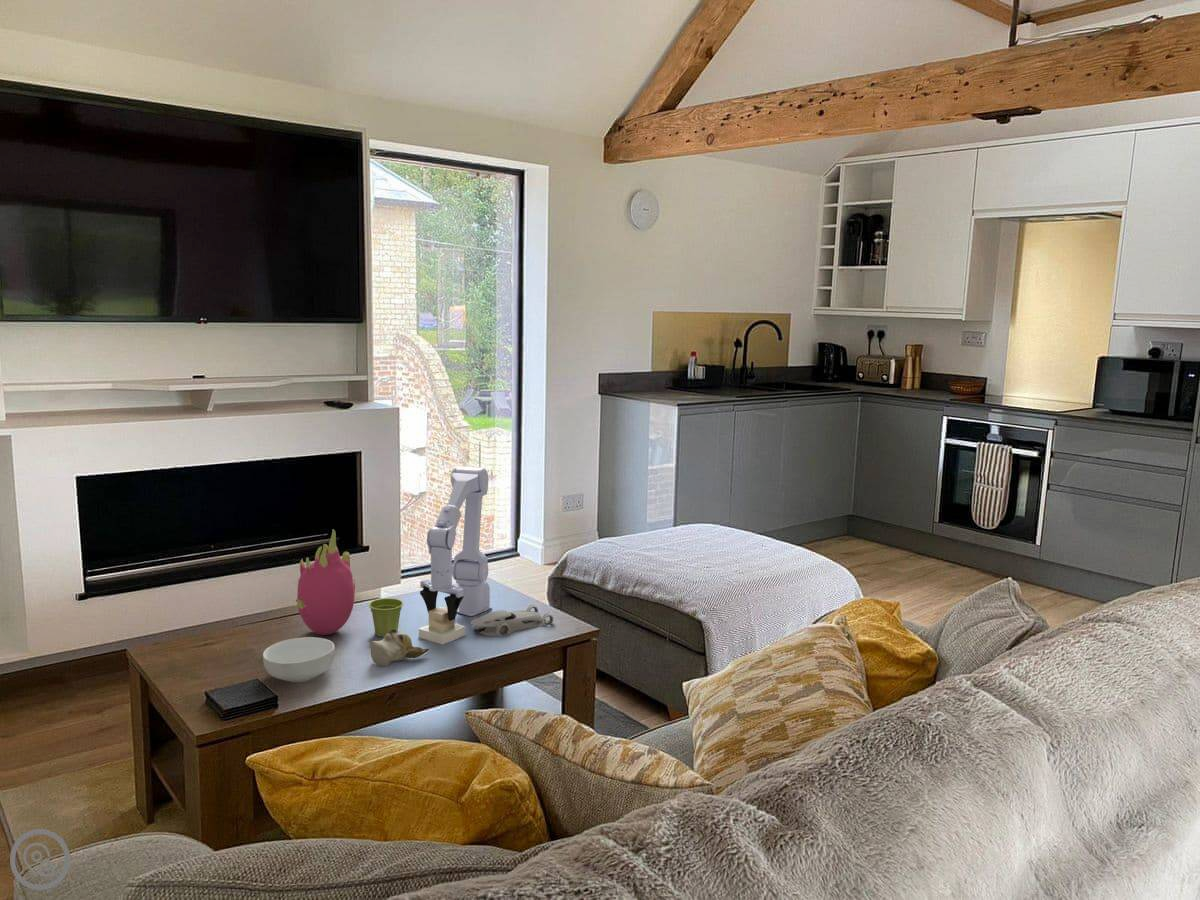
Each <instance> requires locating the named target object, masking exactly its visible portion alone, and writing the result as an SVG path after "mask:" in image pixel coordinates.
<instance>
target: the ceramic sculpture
mask: <svg viewBox="0 0 1200 900" xmlns="http://www.w3.org/2000/svg"><path fill="white" fill-rule="evenodd" d="M369 645H370V647H369V652H370V658H371V659H372V662H373V663H374V664H375V665H376V666H377V667H383V668H385V667H387V666H388V665H389V664H390V662H399V661H403V660H406V659H416V658H419V657H421V656H423V655H425V654H426V653H427V652H428V651H429V650H430V649H429V648H422V647H420V646H413V645H412V638H411V637H410V635H409V634H407V633H404V632H401V631H398V632H396V630H391V631H389V632H387V634H386V635H385V637H384V638H383V639H381V640H372V641H370V644H369Z"/></svg>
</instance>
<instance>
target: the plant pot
mask: <svg viewBox="0 0 1200 900" xmlns="http://www.w3.org/2000/svg"><path fill="white" fill-rule="evenodd" d="M403 605H404V601H403V600H401V599H398V598H391V597H387V598H386V597H385V598H383V597H382V598H378V599H374V600H372V601H370V602H369V603H368V607H369V608H370V612H371V614H372V621H373V627H374V634H375V635H376V636H378V637H385V635H386V634H387V632H389V631H391V630H396V632H399V624H400V623H399V622H400V618H401V617H400V615H401V611H402V607H403Z"/></svg>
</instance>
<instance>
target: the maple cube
mask: <svg viewBox="0 0 1200 900" xmlns="http://www.w3.org/2000/svg"><path fill="white" fill-rule="evenodd" d="M455 621H456V619H455V620H452V621H449V620H448V610H447V606H442V605H441V606H438V607H436V608H435V609H432V610H430V611H429V614H428V625H429V628H430V629H433V630H436V631H440V632H443V631H446V630H449V629H451V628H454V627H455V624H456V623H455Z"/></svg>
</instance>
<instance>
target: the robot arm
mask: <svg viewBox="0 0 1200 900" xmlns="http://www.w3.org/2000/svg"><path fill="white" fill-rule="evenodd" d="M450 482H451V487H452V489H451V491H450V492H451V493H450V495H449V499H448V503H447V505H445V506H443V507H442V508H441V510H440V513H439V515H438V517H437V520H436V522H435V525H434V526H432V527H431V528H429V529H428V531H427V536H426V544H427V547H428V554H430V580H429V579H422V580H420V581H419V582H420V583H419V584H420V586H419V587H420V589H421V590H420V591H419V594H420V596H421V598H422V599H423V601H424V603H425V606H426V611H427V614H428V615H429V611H430V610H432V609H435V608H437V598H438V594H439V592H440V593H443V594H448V596H445V597H444V601H445V604H446V608H447V610H448V620H449V621H452V620H455V621H456V618H457V614H462V615H464V616H469V617H474V616H476V615H478V614H481V613H484V612H486V611H489V610H491V609H492V608H493V607H492V606H490V605H491V604H490V603H491V602H490V597H491V596H490V595H491V593H490V592H491V590H490V589H491V588H490V584H489V582H488V581H487V579H488V576H489V564H488V561H489V559H488V557H487V556H486V554H484V553H483V552H482V551H481V550H480V537H481V525H482V524H481V521H482V503H483V497H484V496H486V495H487V494H488V491H489V473H488V471H487V469H486V468H485V467H465V466H459V465H456V466H454V467H453V468H452V470H451V474H450ZM464 502H465V503H464ZM463 504H464V506H465V507H464V521H463V522H464V524H463V536H462V537H463V538H462V539H463V540H462V549H461V551H460V552H458V553H457V554H456V555H454V558H453V547H454V545H455V543H456V536H457V527H458V524H459V523H460V520H461V517H462V512H461V511H460V509H461V508H462V505H463ZM453 580H454V581H455V583H456V584H458V585H455V584H453Z"/></svg>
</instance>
